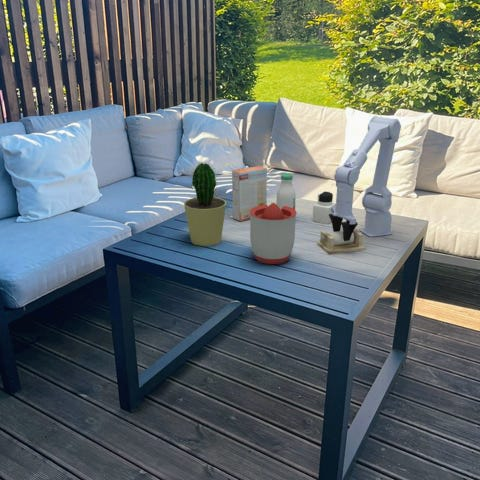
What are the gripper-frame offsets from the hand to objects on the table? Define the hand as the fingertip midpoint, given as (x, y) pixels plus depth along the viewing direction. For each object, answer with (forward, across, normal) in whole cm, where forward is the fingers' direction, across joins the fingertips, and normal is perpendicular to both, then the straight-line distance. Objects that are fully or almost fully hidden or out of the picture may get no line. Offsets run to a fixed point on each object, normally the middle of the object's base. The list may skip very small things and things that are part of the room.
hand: (341, 236), depth 183 cm
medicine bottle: (+4, -28, +7) cm, 29 cm away
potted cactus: (+4, -21, -45) cm, 50 cm away
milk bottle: (+4, -31, -9) cm, 33 cm away
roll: (+3, 0, 0) cm, 3 cm away
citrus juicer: (+4, +1, -27) cm, 27 cm away
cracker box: (+4, -41, -21) cm, 46 cm away
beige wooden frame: (+4, 0, 0) cm, 4 cm away
